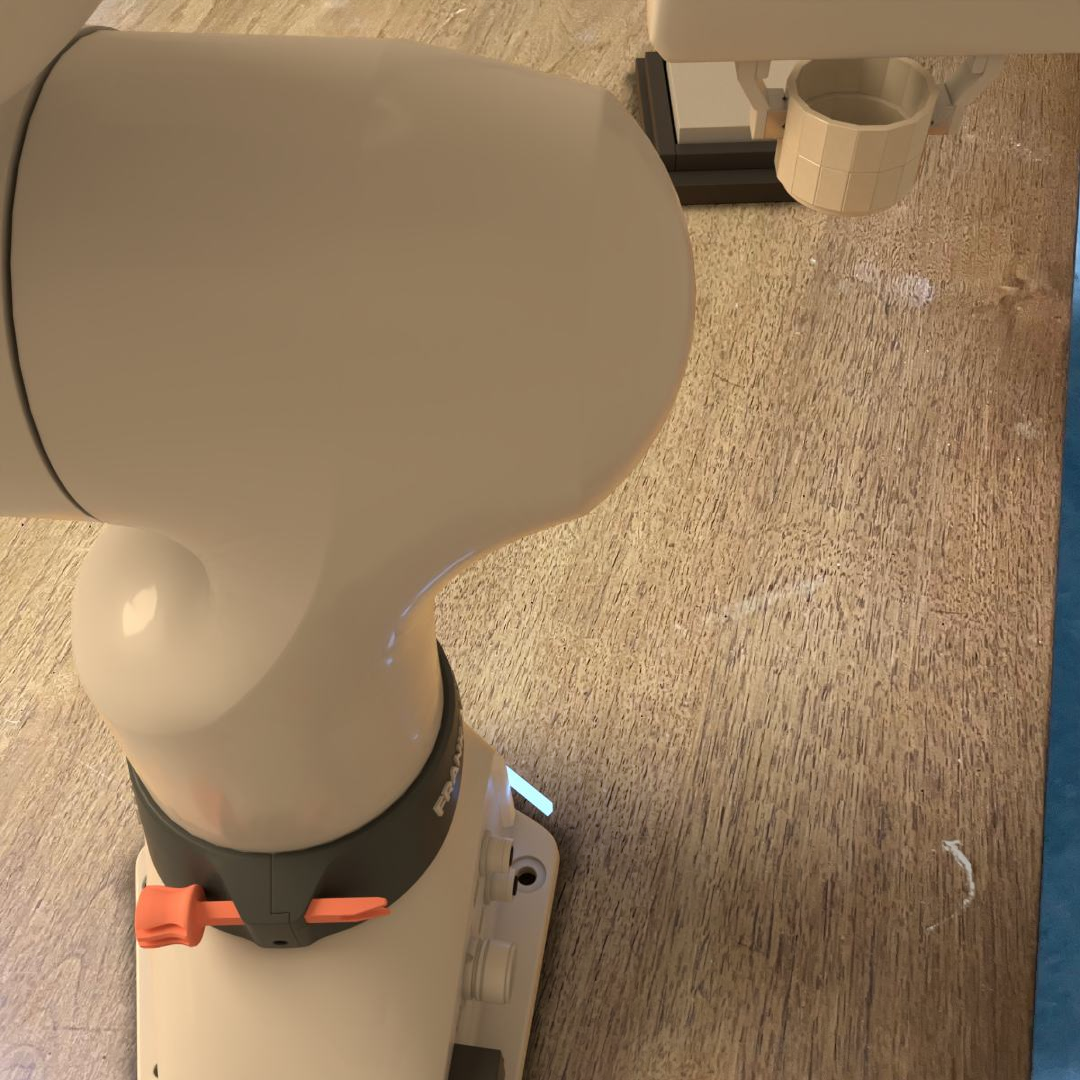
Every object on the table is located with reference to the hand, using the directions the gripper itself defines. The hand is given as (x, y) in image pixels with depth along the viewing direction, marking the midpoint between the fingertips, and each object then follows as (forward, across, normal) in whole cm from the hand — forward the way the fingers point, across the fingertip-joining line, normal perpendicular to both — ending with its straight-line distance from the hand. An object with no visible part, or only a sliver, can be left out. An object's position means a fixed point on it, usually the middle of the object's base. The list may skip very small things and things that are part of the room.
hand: (852, 130), depth 58 cm
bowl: (+2, 0, 0) cm, 3 cm away
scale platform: (+16, -1, +26) cm, 30 cm away
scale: (+18, -1, +26) cm, 32 cm away
